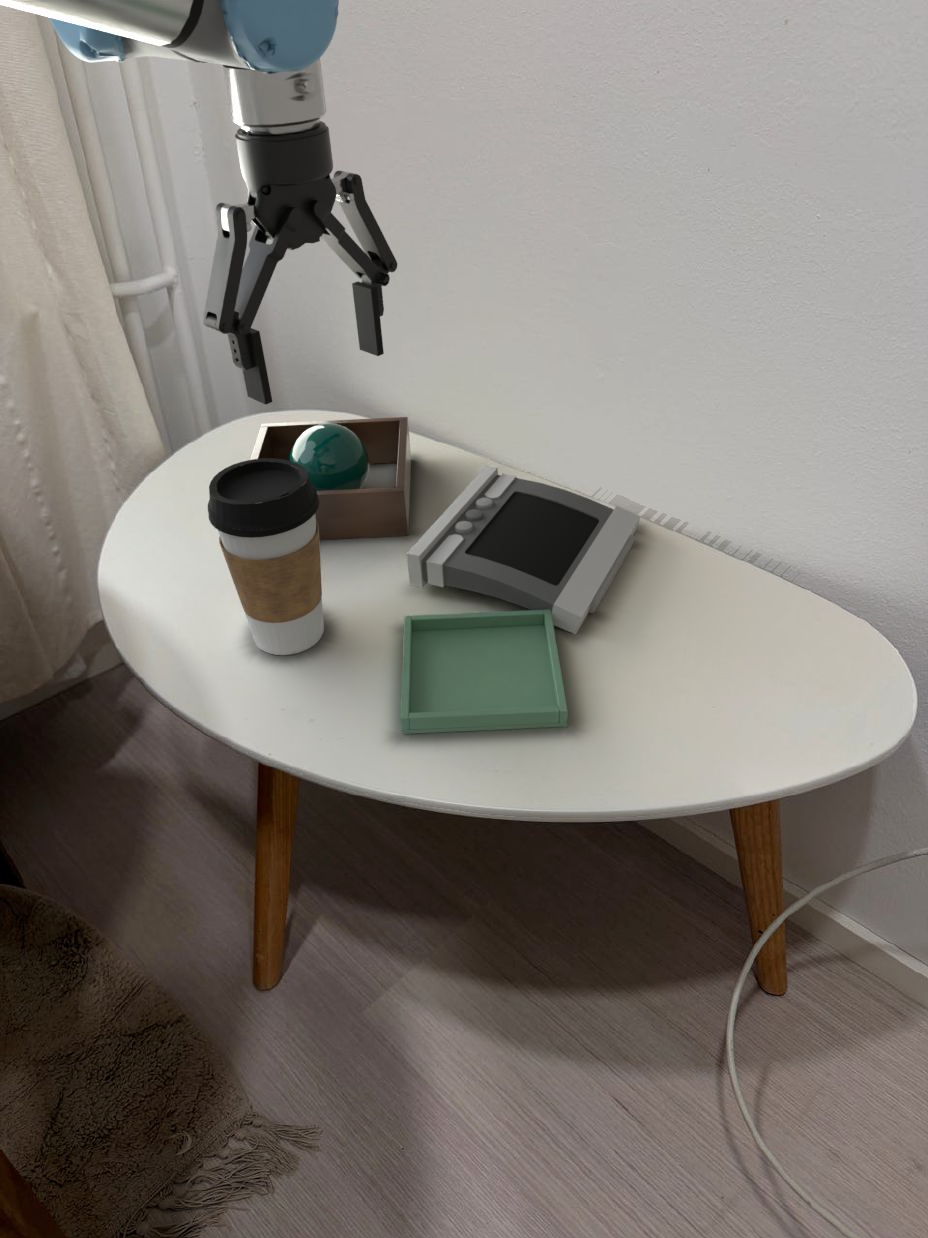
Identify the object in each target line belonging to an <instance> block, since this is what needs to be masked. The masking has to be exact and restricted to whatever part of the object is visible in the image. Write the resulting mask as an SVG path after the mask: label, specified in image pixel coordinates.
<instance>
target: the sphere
mask: <svg viewBox="0 0 928 1238" xmlns="http://www.w3.org/2000/svg"><path fill="white" fill-rule="evenodd" d="M289 461H291V462H295V463H297V464H299V465H301V466H303V467H304V468H305V469H306V470H307V471H308V473H309V477H310V480H311V483H312V485H313V486H314V487H315V489H316V491H329V490H351V489H363V487H364V485H365V484H366V481H367V478H368V475H369V472H370V464H369V458H368V454H367V450H366V448H365V445H364V444H363V442H362V440H361V439H360V438H359V437H358V436H357V435H356V434H355V433H354V432H352V431H351V430H350V429H348V428H346V427H344V426H341V425H337V424H332V423H325V424H319V425H315V426H313V427H311V428H309V429H307V430H306V431H305V432H303V433H302V434H301V435H300V436H299V437H298V438H297V440H296V441H295V443H294V445H293V447H292V449H291V453H290V458H289Z"/></svg>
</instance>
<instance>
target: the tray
mask: <svg viewBox="0 0 928 1238" xmlns="http://www.w3.org/2000/svg"><path fill="white" fill-rule="evenodd" d="M403 617H404V618H403V619H404V620H403V642H402V643H403V644H402V645H403V646H402V669H401V670H402V673H401V697H400V698H401V699H400V700H401V701H400V724H401V725H400V726H401V734H402V735H410V734H411V735H412V734H414V735H415V734H434V733H435V734H436V733H437V734H438V733H455V732H456V733H457V732H458V733H459V732H479V731H502V730H520V729H543V728H544V729H545V728H560V727H561V728H564V727H568V713H569V710H568V704H567V698H566V691H565V686H564V679H563V675H562V668H561V662H560V656H559V650H558V644H557V638H556V631H555V626H554V625H553V620H552V614H551V610H548V609H547V610H530V609H526V610H505V611H487V612H486V611H485V612H463V613H461V612H460V613H444V614H442V613H441V614H421V615H420V614H419V615H405V616H403Z"/></svg>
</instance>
